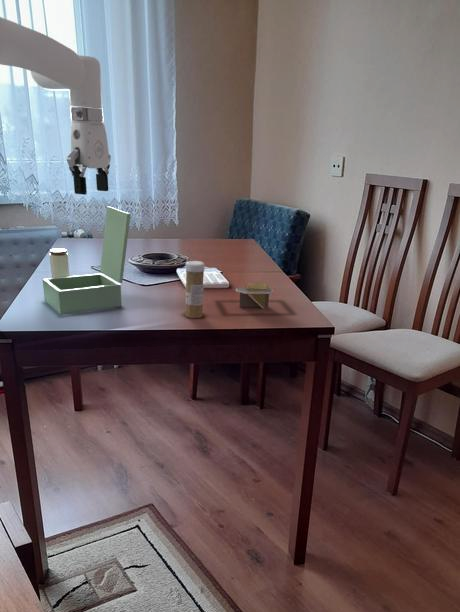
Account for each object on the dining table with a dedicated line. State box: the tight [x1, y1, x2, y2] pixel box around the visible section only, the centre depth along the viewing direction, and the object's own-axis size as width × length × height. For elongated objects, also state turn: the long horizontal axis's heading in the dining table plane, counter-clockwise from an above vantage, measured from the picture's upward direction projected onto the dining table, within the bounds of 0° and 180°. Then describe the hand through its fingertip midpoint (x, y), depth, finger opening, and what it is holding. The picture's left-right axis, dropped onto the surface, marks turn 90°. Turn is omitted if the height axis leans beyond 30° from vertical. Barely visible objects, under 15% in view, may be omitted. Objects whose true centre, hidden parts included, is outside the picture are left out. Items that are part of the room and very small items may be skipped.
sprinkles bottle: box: [184, 260, 205, 319], centre depth 137 cm, size 5×5×14 cm
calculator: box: [176, 267, 230, 289], centre depth 171 cm, size 13×20×2 cm, turn 13°
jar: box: [49, 248, 71, 278], centre depth 153 cm, size 5×5×11 cm
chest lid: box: [99, 205, 131, 284], centre depth 140 cm, size 17×13×1 cm
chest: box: [42, 272, 123, 315], centre depth 141 cm, size 16×13×6 cm
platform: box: [235, 282, 274, 310], centre depth 147 cm, size 12×18×7 cm, turn 100°
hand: (92, 192), depth 141 cm, fingers open, 9 cm apart
